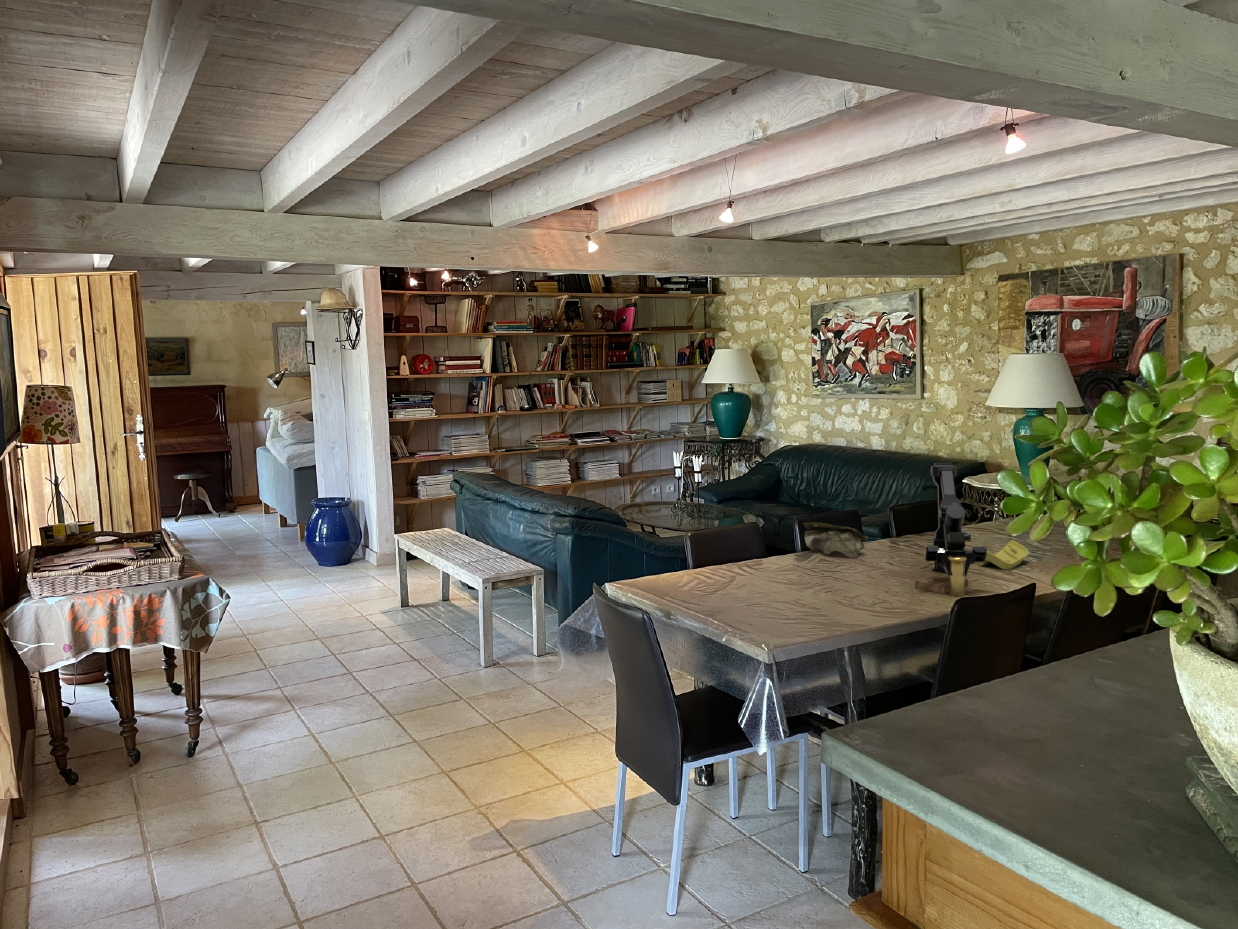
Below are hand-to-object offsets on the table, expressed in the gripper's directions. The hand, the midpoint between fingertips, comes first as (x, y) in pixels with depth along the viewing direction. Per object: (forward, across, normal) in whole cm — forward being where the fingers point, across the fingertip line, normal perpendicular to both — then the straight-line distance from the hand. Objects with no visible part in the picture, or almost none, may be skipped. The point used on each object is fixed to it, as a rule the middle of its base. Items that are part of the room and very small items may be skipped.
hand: (957, 575), depth 290 cm
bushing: (+4, 0, +6) cm, 7 cm away
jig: (-3, -4, +12) cm, 13 cm away
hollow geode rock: (-40, -40, +50) cm, 75 cm away
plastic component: (-29, +23, +39) cm, 54 cm away
